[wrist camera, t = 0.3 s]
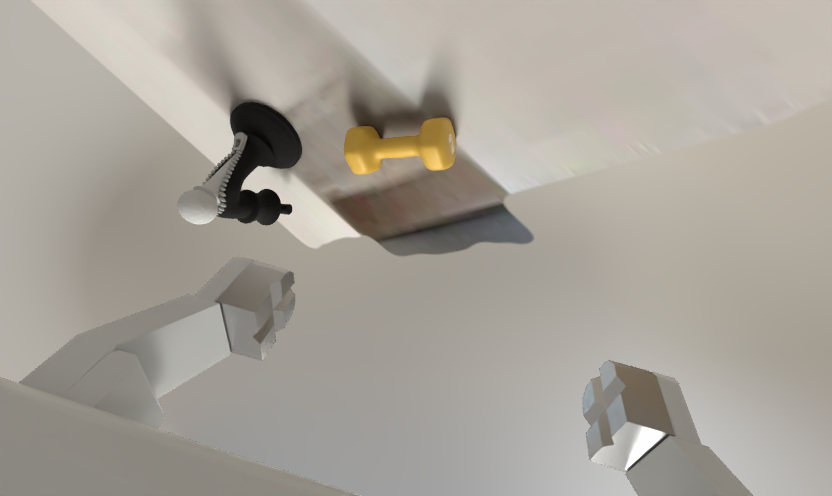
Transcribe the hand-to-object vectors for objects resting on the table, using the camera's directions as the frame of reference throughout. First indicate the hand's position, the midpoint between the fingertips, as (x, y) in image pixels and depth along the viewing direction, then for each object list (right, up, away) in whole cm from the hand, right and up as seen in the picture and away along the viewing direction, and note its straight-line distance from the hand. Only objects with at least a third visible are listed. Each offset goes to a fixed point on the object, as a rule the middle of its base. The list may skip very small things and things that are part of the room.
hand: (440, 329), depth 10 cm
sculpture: (-30, +23, +73) cm, 82 cm away
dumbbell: (-2, +23, +59) cm, 63 cm away
